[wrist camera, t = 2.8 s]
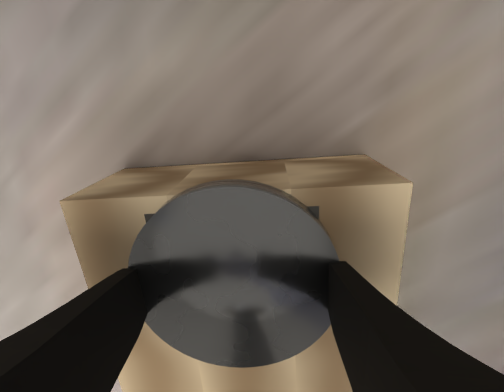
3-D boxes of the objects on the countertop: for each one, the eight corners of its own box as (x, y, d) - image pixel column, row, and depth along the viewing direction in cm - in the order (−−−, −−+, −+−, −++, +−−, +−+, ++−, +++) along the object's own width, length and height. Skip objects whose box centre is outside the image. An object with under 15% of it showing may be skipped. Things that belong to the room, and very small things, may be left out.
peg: (320, 152, 13) (348, 181, 9) (318, 291, 16) (338, 367, 11) (157, 162, 14) (103, 194, 9) (182, 294, 16) (150, 367, 12)
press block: (364, 154, 14) (412, 183, 9) (347, 404, 21) (371, 495, 16) (123, 168, 15) (59, 201, 10) (179, 403, 22) (154, 488, 17)
